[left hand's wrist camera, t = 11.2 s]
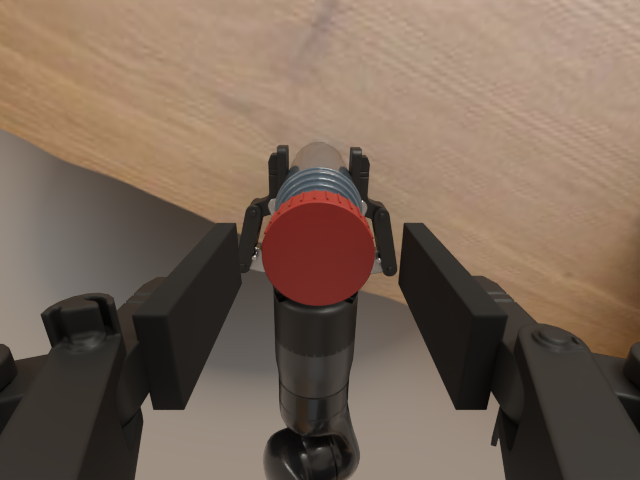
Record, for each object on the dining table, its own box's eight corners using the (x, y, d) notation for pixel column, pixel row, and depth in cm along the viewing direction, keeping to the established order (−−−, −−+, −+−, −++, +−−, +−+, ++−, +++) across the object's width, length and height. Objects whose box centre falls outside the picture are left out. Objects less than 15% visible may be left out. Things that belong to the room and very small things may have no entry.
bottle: (284, 178, 33) (236, 275, 14) (308, 132, 32) (290, 168, 12) (328, 202, 34) (341, 323, 15) (353, 158, 32) (404, 229, 13)
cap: (250, 258, 15) (241, 278, 13) (296, 169, 14) (292, 178, 12) (337, 299, 16) (339, 323, 14) (389, 220, 15) (398, 234, 13)
